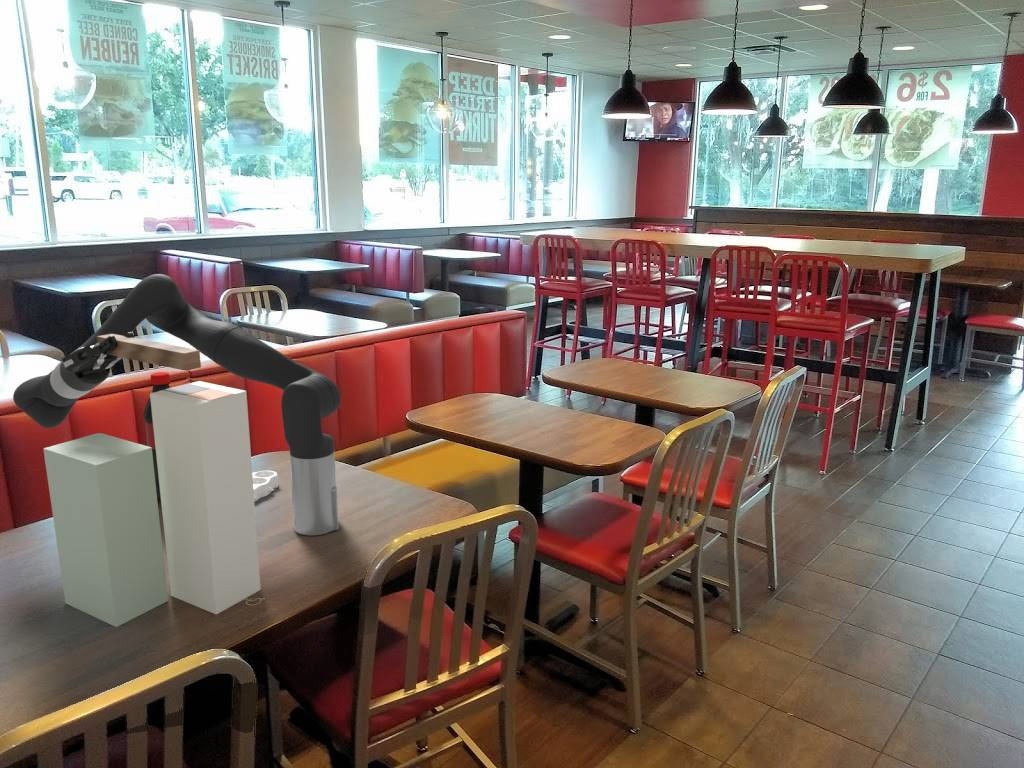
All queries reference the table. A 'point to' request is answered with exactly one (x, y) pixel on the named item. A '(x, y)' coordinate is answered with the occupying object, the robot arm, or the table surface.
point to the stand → (206, 493)
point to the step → (107, 526)
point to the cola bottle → (159, 383)
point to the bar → (155, 352)
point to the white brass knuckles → (264, 483)
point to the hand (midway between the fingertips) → (123, 338)
